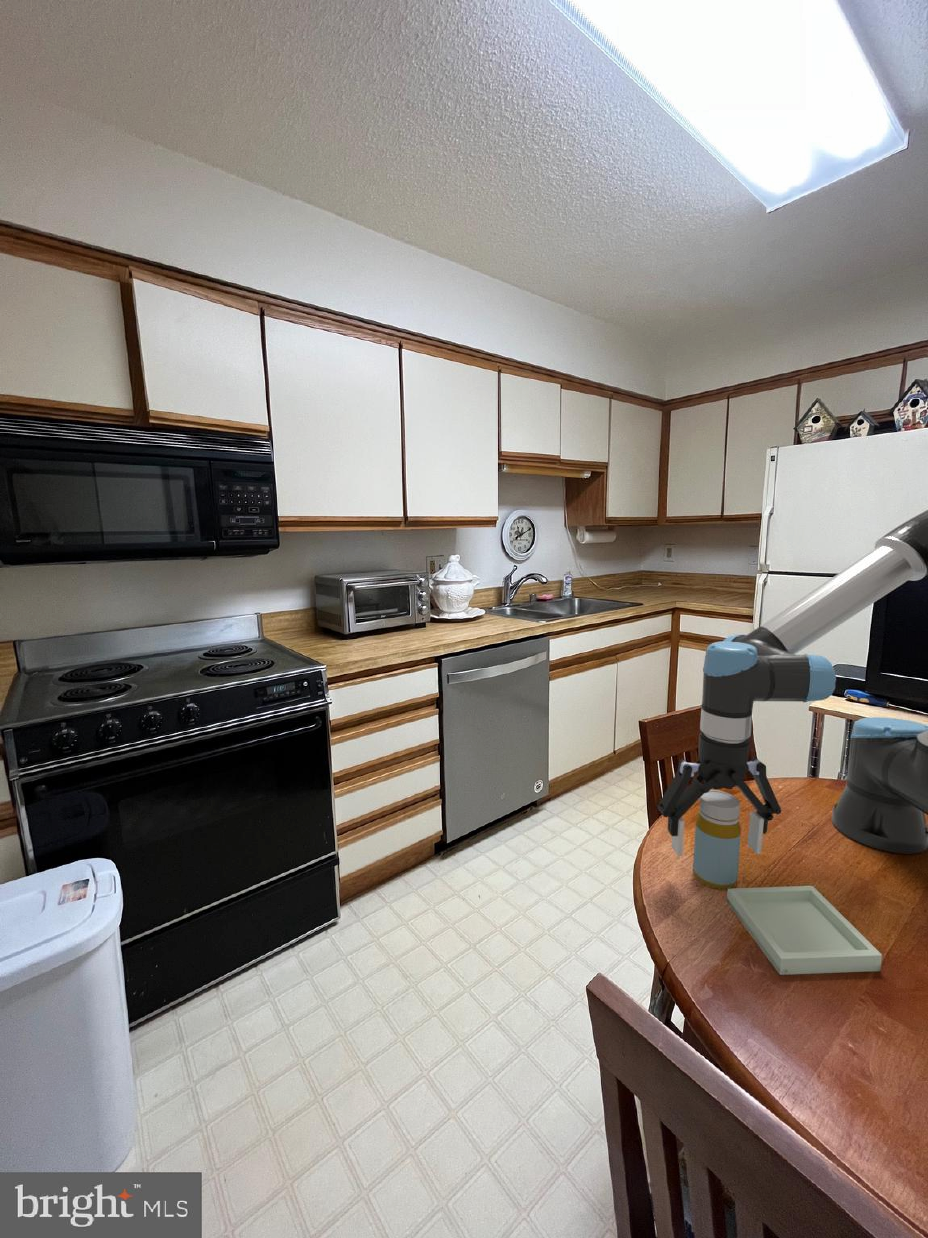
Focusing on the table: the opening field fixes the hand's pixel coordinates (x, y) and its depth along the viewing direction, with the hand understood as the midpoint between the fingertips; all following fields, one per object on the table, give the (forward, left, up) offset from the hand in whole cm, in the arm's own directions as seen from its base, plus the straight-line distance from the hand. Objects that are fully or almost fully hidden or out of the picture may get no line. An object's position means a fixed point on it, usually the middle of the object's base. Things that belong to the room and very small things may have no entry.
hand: (715, 850), depth 90 cm
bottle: (0, 0, -6) cm, 6 cm away
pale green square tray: (-6, +13, -5) cm, 15 cm away
